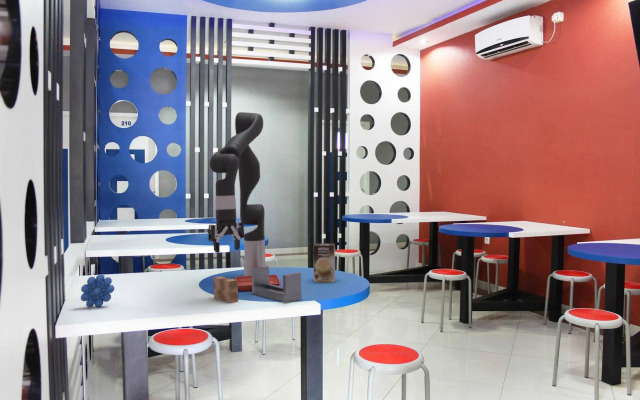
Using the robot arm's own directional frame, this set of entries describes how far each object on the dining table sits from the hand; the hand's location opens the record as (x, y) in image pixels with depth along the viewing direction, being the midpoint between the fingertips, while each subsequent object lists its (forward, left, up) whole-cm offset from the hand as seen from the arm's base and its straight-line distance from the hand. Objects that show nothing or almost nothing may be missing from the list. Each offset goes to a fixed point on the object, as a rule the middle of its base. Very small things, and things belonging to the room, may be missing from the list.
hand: (227, 251), depth 200 cm
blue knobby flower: (-26, -39, -19) cm, 50 cm away
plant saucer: (-12, +21, -19) cm, 31 cm away
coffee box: (+1, +47, -19) cm, 51 cm away
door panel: (-1, -1, -18) cm, 18 cm away
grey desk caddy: (+9, +15, -18) cm, 26 cm away
